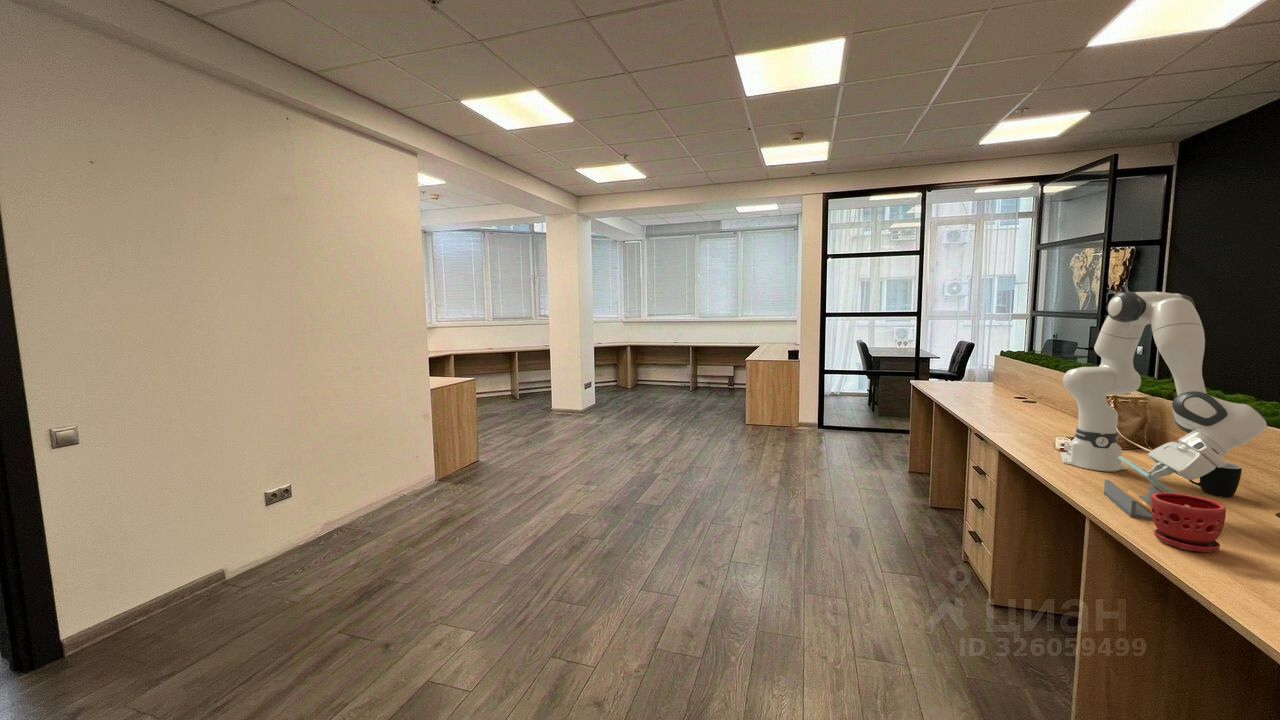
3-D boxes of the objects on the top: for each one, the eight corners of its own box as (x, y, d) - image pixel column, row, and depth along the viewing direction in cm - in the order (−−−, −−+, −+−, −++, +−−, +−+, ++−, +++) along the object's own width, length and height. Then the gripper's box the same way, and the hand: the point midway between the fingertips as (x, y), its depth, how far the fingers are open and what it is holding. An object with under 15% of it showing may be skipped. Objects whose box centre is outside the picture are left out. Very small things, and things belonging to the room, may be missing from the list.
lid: (1117, 457, 162) (1120, 455, 162) (1154, 484, 159) (1157, 481, 158) (1146, 476, 144) (1150, 473, 144) (1188, 506, 141) (1192, 503, 140)
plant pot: (1219, 544, 130) (1224, 499, 129) (1223, 561, 121) (1228, 514, 120) (1148, 528, 139) (1152, 487, 138) (1146, 543, 130) (1151, 499, 129)
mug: (1234, 493, 164) (1238, 463, 163) (1241, 501, 157) (1245, 470, 156) (1181, 485, 172) (1184, 456, 171) (1186, 492, 165) (1189, 463, 164)
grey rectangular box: (1103, 494, 164) (1104, 479, 164) (1152, 500, 159) (1153, 485, 159) (1130, 517, 147) (1132, 500, 146) (1186, 524, 141) (1188, 507, 141)
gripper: (1170, 432, 156) (1126, 458, 161) (1209, 448, 138) (1158, 478, 143) (1188, 447, 154) (1143, 474, 160) (1230, 466, 136) (1178, 495, 141)
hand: (1151, 476), depth 151 cm, fingers closed, pressing on lid
